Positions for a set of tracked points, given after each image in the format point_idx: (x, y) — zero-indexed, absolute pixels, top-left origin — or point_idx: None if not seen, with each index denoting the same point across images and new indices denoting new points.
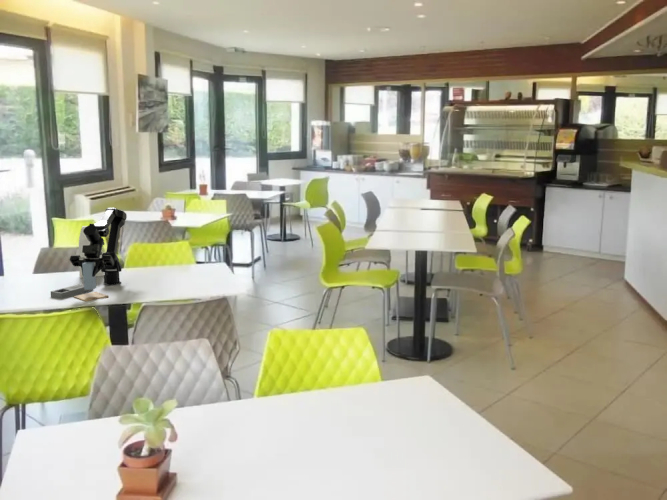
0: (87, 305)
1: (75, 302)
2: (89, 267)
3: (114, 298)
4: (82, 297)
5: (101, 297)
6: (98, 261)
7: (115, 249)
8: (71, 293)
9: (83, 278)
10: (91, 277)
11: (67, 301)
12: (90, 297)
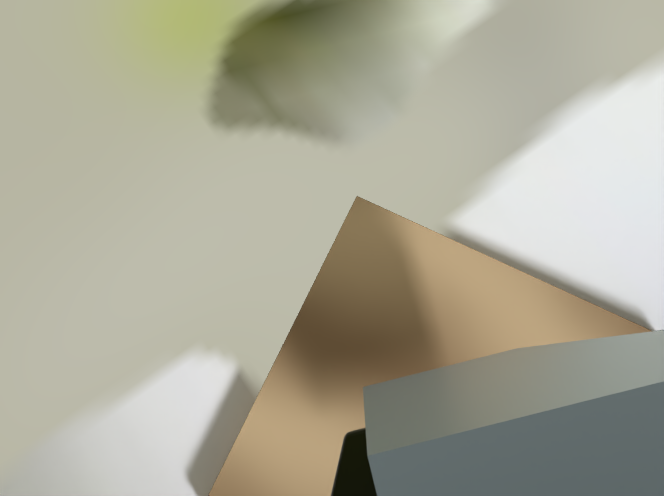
0: (257, 101)
1: (495, 179)
2: (461, 403)
3: (99, 491)
4: (503, 318)
5: (250, 411)
6: None
7: None
8: None
9: (593, 339)
10: (380, 395)
11: (633, 194)
12: (389, 348)
